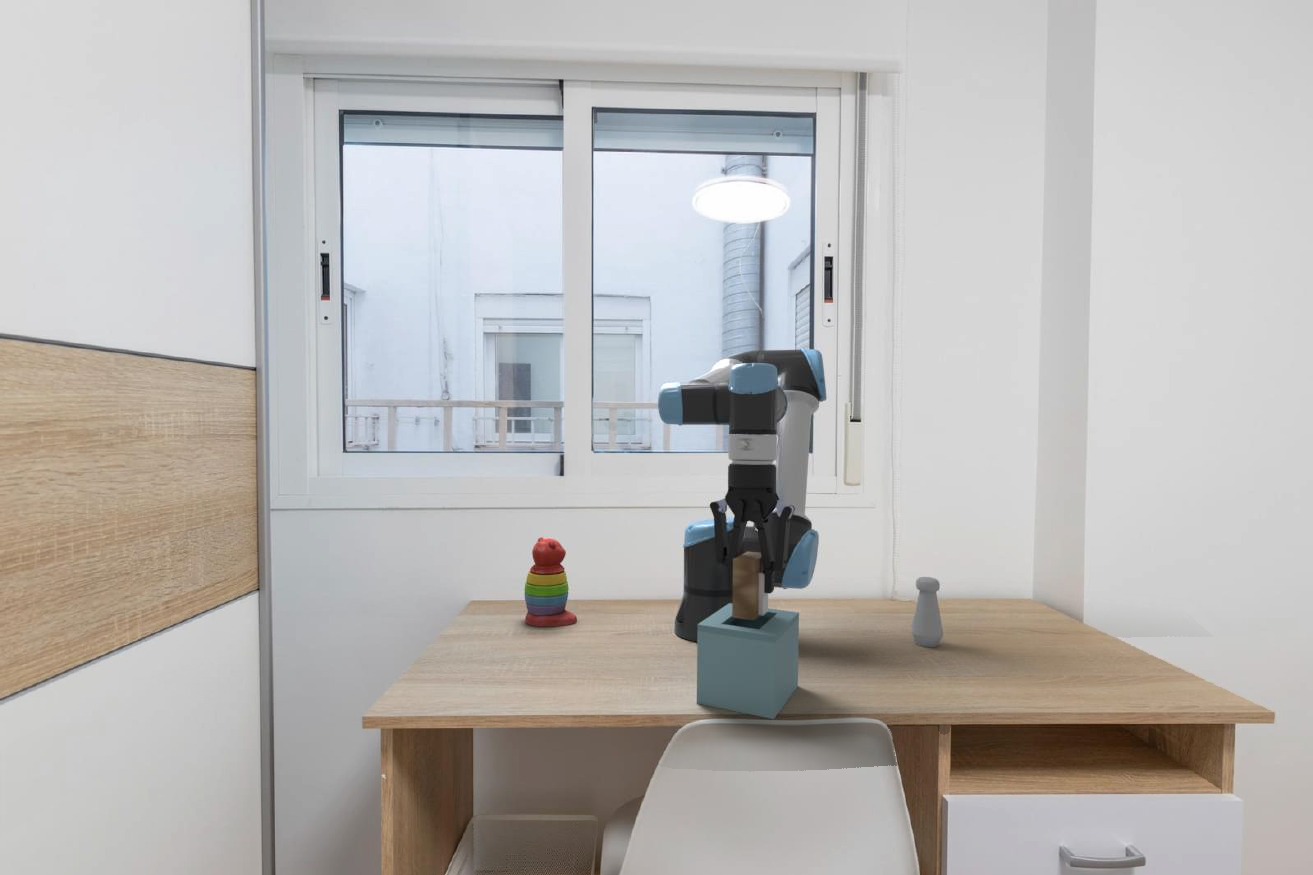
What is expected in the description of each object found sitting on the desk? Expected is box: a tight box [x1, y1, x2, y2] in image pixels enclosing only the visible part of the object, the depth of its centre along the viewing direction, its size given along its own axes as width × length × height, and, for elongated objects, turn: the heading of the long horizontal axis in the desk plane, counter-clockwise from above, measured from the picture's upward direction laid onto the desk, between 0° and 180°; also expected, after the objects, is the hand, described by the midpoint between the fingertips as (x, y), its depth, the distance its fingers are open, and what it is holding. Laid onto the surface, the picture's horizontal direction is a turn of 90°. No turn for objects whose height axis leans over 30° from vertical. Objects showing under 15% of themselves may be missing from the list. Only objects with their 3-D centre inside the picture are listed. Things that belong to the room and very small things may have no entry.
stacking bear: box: [524, 536, 578, 627], centre depth 142 cm, size 11×10×18 cm
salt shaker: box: [910, 576, 944, 648], centre depth 129 cm, size 6×6×13 cm
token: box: [732, 552, 763, 620], centre depth 103 cm, size 4×7×9 cm, turn 154°
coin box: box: [696, 603, 800, 720], centre depth 104 cm, size 12×14×12 cm
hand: (750, 611), depth 103 cm, fingers closed on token, 3 cm apart
